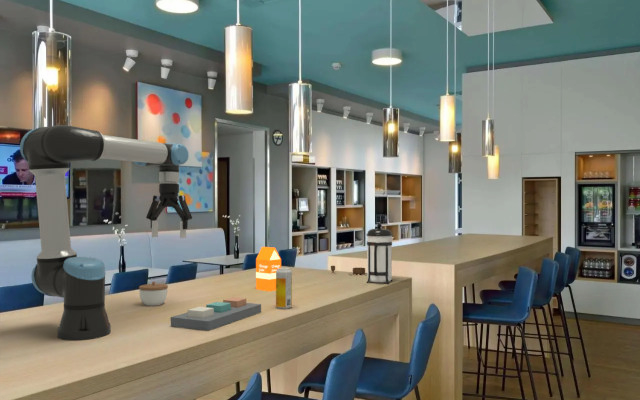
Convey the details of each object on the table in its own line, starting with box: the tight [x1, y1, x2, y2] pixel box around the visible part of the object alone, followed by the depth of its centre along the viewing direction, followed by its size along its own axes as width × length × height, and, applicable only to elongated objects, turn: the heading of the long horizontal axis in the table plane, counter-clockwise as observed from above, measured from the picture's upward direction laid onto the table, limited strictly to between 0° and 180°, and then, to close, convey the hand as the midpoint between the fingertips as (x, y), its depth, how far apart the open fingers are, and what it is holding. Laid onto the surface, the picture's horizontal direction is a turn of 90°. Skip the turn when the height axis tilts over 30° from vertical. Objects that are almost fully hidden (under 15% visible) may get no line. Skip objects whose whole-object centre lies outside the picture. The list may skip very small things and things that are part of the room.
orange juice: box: [255, 246, 282, 292], centre depth 250 cm, size 8×9×20 cm
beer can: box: [275, 267, 293, 310], centre depth 209 cm, size 6×6×15 cm
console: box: [170, 302, 262, 332], centre depth 189 cm, size 32×15×3 cm, turn 155°
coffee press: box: [366, 223, 393, 285], centre depth 270 cm, size 17×16×30 cm
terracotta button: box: [222, 296, 247, 308], centre depth 198 cm, size 6×6×3 cm
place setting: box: [330, 265, 367, 276], centre depth 303 cm, size 18×20×6 cm
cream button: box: [187, 306, 214, 318], centre depth 180 cm, size 6×6×3 cm
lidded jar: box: [138, 281, 169, 307], centre depth 214 cm, size 11×11×9 cm
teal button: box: [205, 301, 231, 313], centre depth 189 cm, size 6×6×3 cm
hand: (168, 237), depth 213 cm, fingers open, 13 cm apart
